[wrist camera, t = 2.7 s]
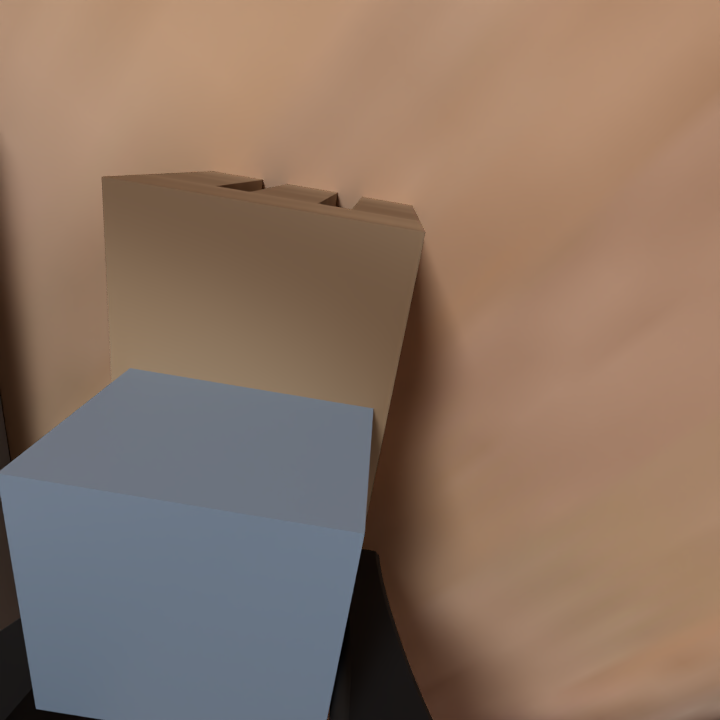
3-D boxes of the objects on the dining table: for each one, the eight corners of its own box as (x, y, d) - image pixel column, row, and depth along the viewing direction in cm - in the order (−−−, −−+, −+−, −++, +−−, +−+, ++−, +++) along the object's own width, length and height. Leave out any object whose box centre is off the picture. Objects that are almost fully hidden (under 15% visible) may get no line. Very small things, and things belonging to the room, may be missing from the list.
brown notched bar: (311, 730, 16) (287, 899, 12) (193, 710, 16) (134, 874, 12) (411, 205, 10) (425, 232, 6) (213, 171, 10) (102, 176, 6)
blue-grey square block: (339, 587, 8) (319, 755, 6) (136, 554, 8) (36, 708, 6) (373, 408, 7) (365, 534, 5) (130, 368, 7) (-4, 472, 5)
